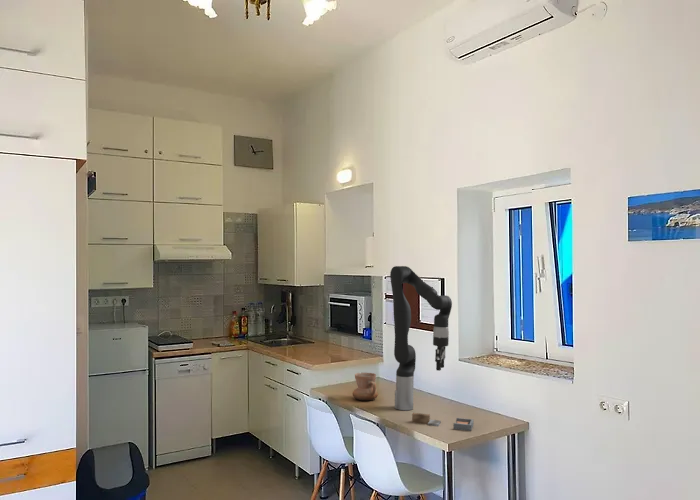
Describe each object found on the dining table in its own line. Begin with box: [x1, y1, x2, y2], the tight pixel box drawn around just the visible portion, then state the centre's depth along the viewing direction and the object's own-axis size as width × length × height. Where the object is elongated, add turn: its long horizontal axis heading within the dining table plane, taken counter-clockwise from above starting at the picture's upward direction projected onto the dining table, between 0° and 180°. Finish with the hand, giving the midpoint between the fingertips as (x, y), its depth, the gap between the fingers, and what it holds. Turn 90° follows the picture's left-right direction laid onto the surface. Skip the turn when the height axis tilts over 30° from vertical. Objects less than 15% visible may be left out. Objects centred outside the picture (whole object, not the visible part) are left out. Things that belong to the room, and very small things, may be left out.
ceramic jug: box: [351, 372, 379, 402], centre depth 309 cm, size 18×14×14 cm
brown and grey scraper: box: [411, 412, 442, 427], centre depth 262 cm, size 13×7×4 cm, turn 72°
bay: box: [453, 417, 475, 432], centre depth 256 cm, size 8×11×2 cm
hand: (440, 369), depth 270 cm, fingers open, 8 cm apart
